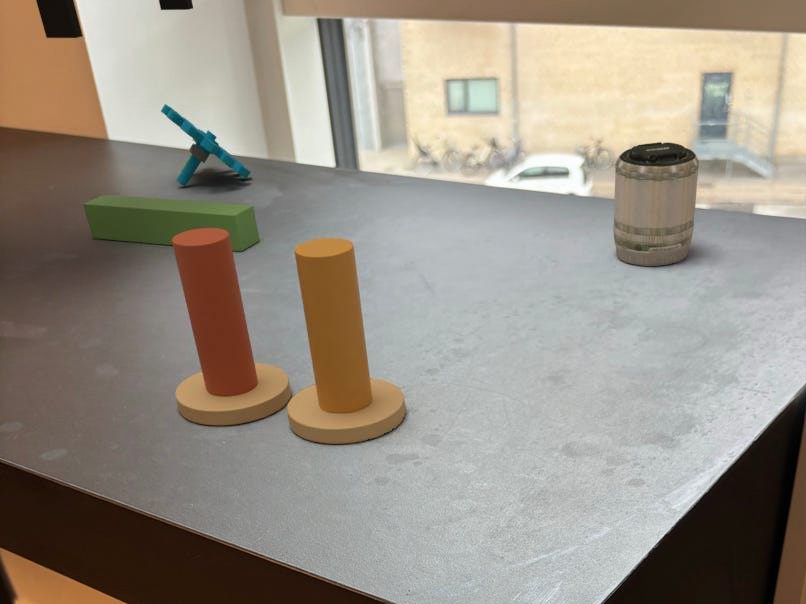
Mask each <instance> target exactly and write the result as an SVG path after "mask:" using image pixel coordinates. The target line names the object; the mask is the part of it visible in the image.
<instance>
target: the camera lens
mask: <svg viewBox="0 0 806 604" xmlns="http://www.w3.org/2000/svg"><path fill="white" fill-rule="evenodd" d="M614 168H615V171H614V175H615V176H614V198H613V199H614V201H613V240H614V246H615V251H616V256H617V258H618V259H619V260H621V261H622V262H624V263H627V264H630V265H635V266H645V267H658V266H668V265H672V263H673V264H676V263H680V262H681V261H683V260H684V259H685V258H687V256H688V253H689V249H690V246H691V244H692V239H693V234H694V229H695V216H696V215H695V214H696V203H697V192H698V191H697V189H698V178H699V176H698V175H699V168H700V161H699V159H698V156H697V154H696V153H695V152H694V151H693V150H691V149H690V148H687V147H685V146H683V145H682V144H678V143H675V142H669V141H668V142H660V141H658V142H651V143H641V144H638V145H633V146H632V147H631V148H628V149H626V150H624V151H623V152H622V153H621V154H620V155H619V156H618V157H617V159H616V161H615V165H614Z"/></svg>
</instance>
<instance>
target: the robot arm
mask: <svg viewBox="0 0 806 604" xmlns="http://www.w3.org/2000/svg"><path fill="white" fill-rule="evenodd" d="M35 2H36V5H37V9H38V13H39V16H40V20H41V23H42V27H43V30H44V33H45V37H46V39H78V38H82V37H83V33H82V29H81V24H80V21H79V16H78V13H77V9H76V5H75V1H74V0H35ZM158 3H159V8H160V11H188V10H193V9H194V5H193V0H158Z"/></svg>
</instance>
